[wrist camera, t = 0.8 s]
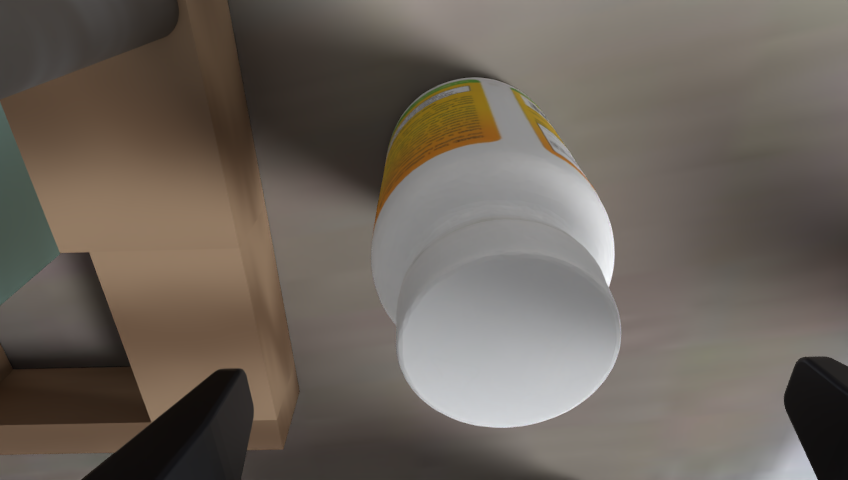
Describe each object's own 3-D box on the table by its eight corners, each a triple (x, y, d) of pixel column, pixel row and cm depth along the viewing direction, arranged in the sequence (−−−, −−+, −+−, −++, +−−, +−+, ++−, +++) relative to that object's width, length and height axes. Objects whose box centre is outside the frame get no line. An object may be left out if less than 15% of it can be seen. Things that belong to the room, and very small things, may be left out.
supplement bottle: (373, 213, 19) (331, 432, 11) (407, 55, 17) (386, 178, 8) (523, 244, 20) (596, 476, 11) (576, 96, 17) (722, 250, 9)
